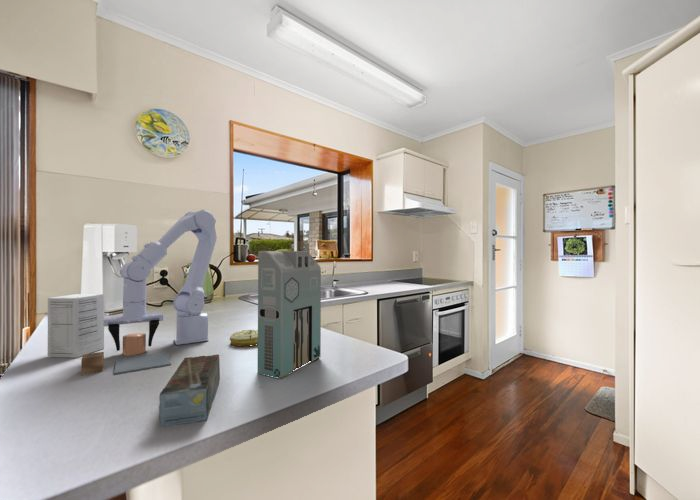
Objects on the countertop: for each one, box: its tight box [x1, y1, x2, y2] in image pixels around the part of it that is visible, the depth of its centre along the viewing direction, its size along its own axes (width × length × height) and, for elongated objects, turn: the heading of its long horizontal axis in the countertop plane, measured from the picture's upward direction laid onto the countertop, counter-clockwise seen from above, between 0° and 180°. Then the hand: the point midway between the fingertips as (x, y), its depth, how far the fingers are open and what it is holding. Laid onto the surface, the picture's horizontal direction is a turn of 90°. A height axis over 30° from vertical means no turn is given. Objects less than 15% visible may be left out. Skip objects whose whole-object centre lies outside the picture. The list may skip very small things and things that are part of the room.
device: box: [257, 250, 322, 379], centre depth 83 cm, size 16×8×30 cm, turn 151°
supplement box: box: [47, 293, 105, 359], centre depth 94 cm, size 10×9×17 cm
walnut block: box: [80, 351, 105, 376], centre depth 79 cm, size 4×4×4 cm
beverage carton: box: [158, 354, 221, 427], centre depth 64 cm, size 8×19×7 cm, turn 16°
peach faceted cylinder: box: [122, 332, 147, 356], centre depth 94 cm, size 6×6×5 cm
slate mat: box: [113, 351, 172, 376], centre depth 85 cm, size 12×12×1 cm
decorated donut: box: [229, 329, 258, 347], centre depth 104 cm, size 10×11×4 cm
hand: (134, 347), depth 94 cm, fingers open, 7 cm apart
